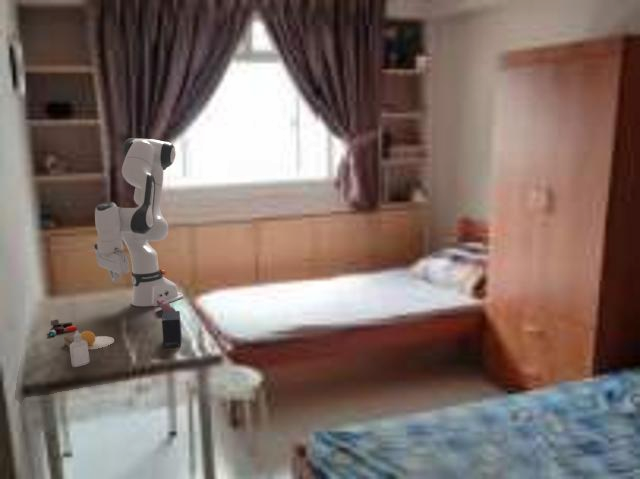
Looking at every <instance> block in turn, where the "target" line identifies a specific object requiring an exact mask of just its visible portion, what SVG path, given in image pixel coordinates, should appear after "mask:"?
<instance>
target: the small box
mask: <svg viewBox="0 0 640 479" xmlns="http://www.w3.org/2000/svg"><path fill="white" fill-rule="evenodd" d="M161 330H162V341H163V344H162V345H163V349H168V348H178V347H179V348H180V347H182V320H181V312H180V310H175V311H169V312H163V311H162V317H161Z"/></svg>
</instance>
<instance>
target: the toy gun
mask: <svg viewBox="0 0 640 479" xmlns="http://www.w3.org/2000/svg"><path fill="white" fill-rule="evenodd" d="M59 321H60V320H59V319H58V318H56V319H52V320H50V326H51V328H50V331H49V332H48V334H47V335H48V337H49V338H50V337H55V336H56V335H59V334H60V335H61V334H65V333H71V332H76V330H78V326H77V325H73V322H72V321H70V322H69V321H68V322H62V323H61V322H59Z"/></svg>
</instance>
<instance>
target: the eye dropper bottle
mask: <svg viewBox="0 0 640 479" xmlns="http://www.w3.org/2000/svg"><path fill="white" fill-rule="evenodd" d="M73 337H74V342H73V343H71V344H70V347H69V353H70V360H71V366H72V367H73V368H80V367H83V366H86V365H87V364H90V353H89V350H88V344H87V341H85V340H82V336H81V333H80V332H79V330H78V329H77V330H76V331H75V333H74V334H73Z"/></svg>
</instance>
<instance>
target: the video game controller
mask: <svg viewBox="0 0 640 479" xmlns="http://www.w3.org/2000/svg"><path fill="white" fill-rule="evenodd" d="M156 307H160V308H161V310H162V313H163V312H169V311H176V309H175V308H174V307H172V306H171V305H170V302H169V303H167V302H166V300H165V299H158V300H157V306H156Z"/></svg>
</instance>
